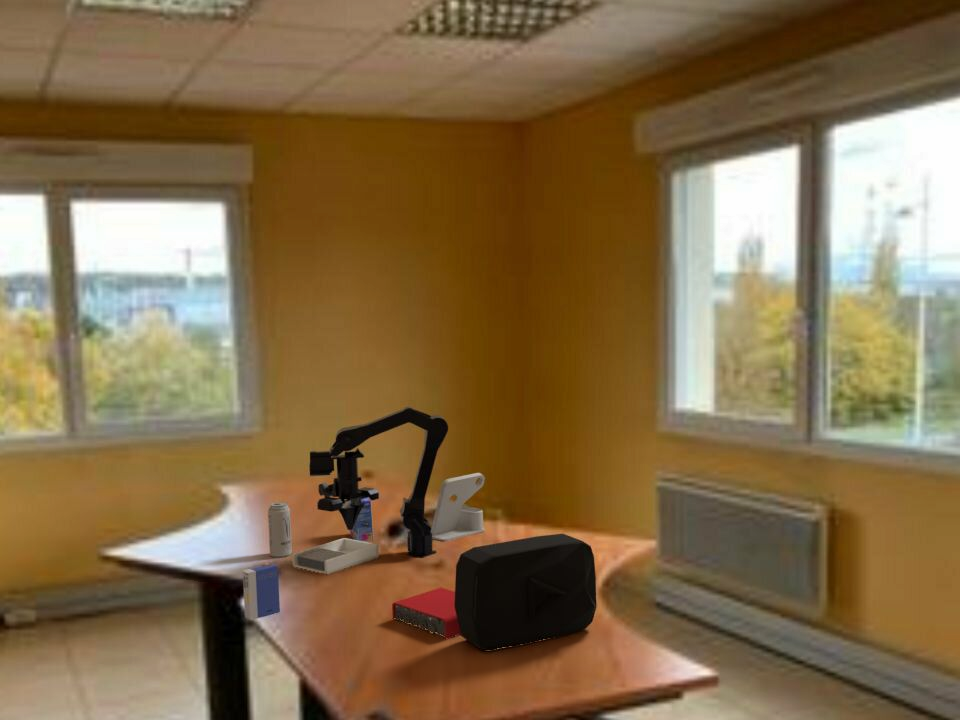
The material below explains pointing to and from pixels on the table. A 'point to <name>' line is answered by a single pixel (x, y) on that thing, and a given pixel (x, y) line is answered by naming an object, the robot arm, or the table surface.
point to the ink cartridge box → (363, 523)
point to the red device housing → (430, 611)
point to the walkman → (261, 591)
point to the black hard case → (525, 590)
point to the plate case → (354, 556)
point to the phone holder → (457, 509)
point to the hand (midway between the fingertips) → (350, 529)
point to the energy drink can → (279, 529)
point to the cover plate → (317, 558)
